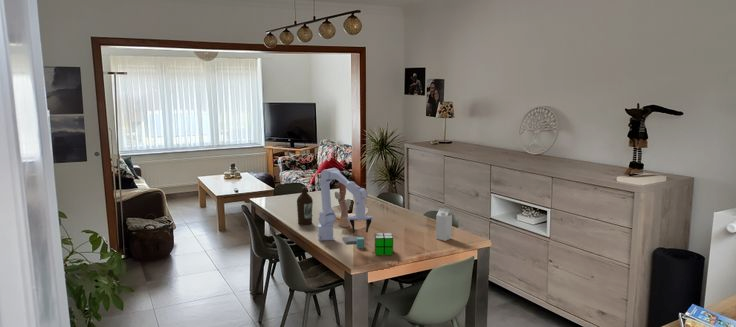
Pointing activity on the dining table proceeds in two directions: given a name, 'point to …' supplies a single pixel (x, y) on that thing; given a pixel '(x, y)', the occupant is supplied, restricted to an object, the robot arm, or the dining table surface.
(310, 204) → the olive oil
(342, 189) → the brown statue
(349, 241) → the gray block
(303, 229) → the dining table surface
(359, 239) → the teal block
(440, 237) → the milk carton
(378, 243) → the puzzle cube
